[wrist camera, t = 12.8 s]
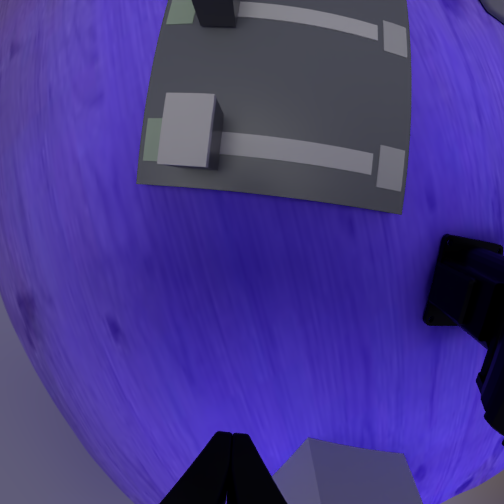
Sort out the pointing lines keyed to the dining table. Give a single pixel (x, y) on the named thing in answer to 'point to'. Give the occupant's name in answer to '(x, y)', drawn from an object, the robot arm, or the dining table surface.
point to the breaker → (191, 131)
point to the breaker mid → (217, 12)
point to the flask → (495, 8)
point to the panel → (292, 99)
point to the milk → (345, 476)
